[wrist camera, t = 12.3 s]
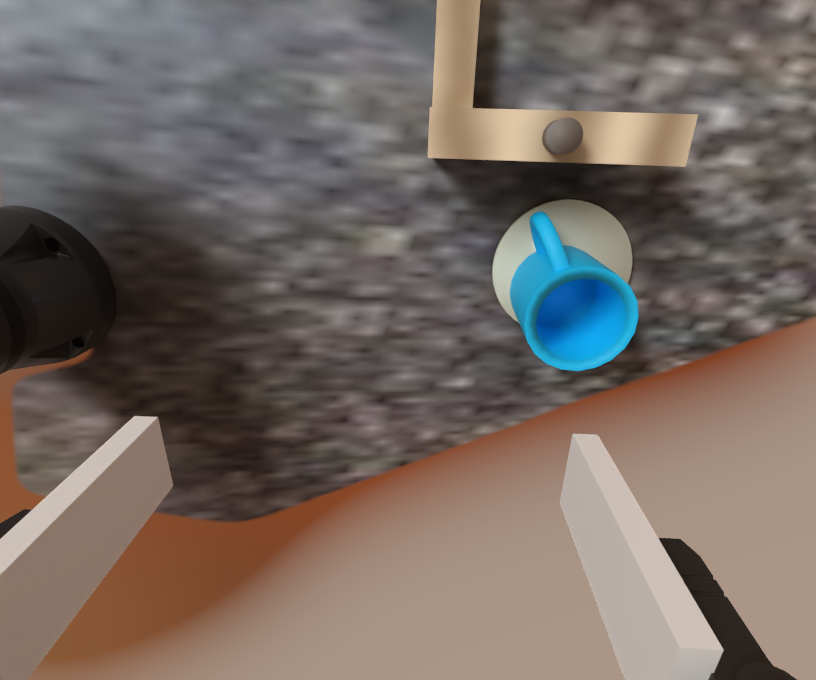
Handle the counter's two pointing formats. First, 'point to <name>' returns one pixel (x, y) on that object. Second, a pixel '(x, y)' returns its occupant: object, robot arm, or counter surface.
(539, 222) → the mug
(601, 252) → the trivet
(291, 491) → the counter surface
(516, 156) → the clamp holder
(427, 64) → the counter surface
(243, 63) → the counter surface
